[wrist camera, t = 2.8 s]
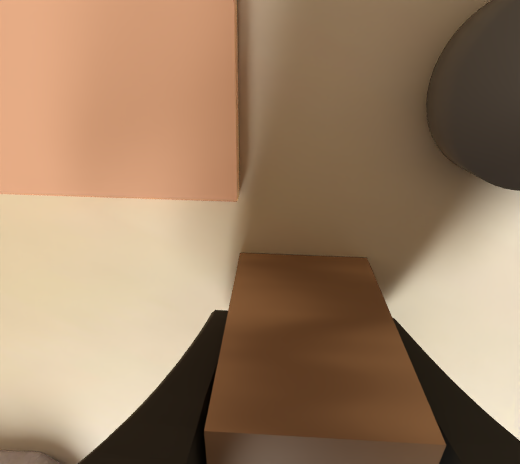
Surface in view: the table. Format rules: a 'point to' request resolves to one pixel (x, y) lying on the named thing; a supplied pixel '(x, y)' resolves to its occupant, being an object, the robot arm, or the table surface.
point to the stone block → (25, 457)
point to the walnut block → (315, 370)
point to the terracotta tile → (119, 99)
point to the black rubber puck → (480, 95)
